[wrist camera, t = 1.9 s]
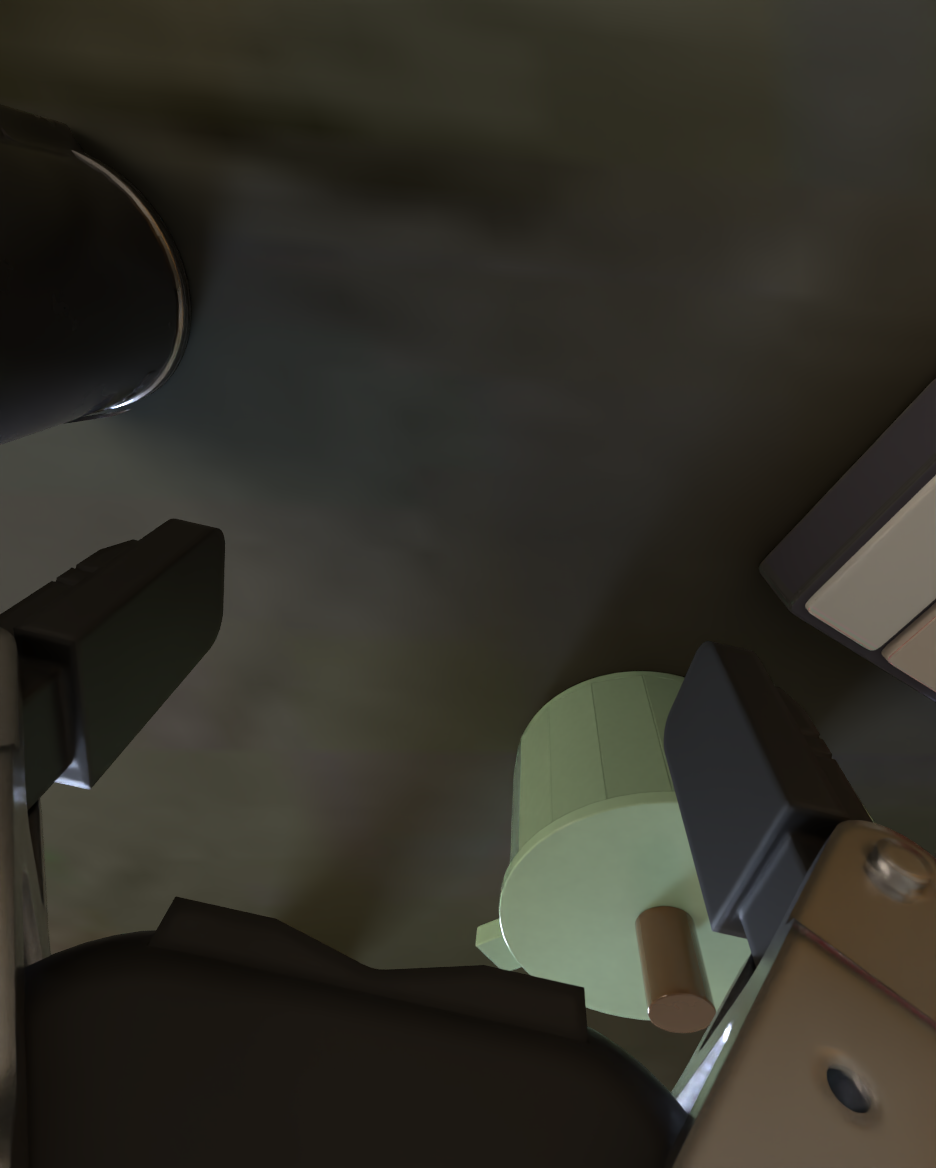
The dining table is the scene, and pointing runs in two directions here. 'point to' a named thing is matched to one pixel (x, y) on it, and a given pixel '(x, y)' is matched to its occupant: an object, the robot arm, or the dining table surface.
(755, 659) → the robot arm
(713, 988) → the pot lid
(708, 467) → the dining table surface
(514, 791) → the pot
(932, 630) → the black square box
